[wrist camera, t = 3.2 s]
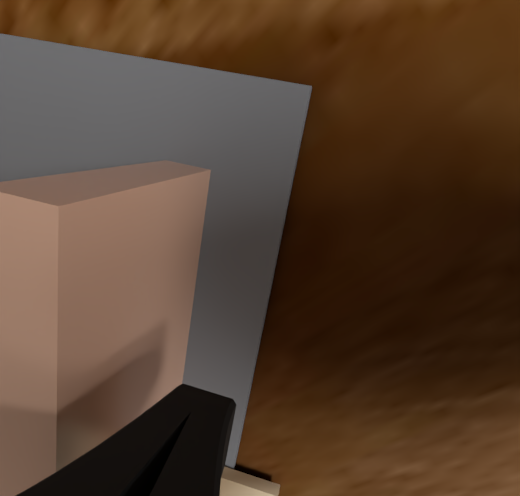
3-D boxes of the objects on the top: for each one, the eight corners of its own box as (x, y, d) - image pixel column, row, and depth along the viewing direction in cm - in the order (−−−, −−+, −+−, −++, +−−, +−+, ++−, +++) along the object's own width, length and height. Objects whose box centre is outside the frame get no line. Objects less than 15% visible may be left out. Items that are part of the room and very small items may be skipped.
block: (210, 169, 13) (58, 206, 6) (178, 412, 16) (55, 610, 9) (164, 159, 13) (-29, 184, 6) (141, 401, 16) (-4, 584, 9)
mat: (312, 86, 12) (311, 85, 11) (231, 482, 17) (229, 488, 16) (-94, 18, 14) (-103, 16, 14) (-57, 382, 19) (-63, 385, 19)
